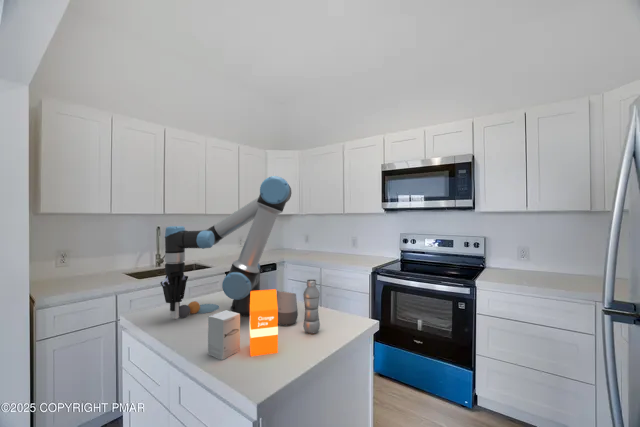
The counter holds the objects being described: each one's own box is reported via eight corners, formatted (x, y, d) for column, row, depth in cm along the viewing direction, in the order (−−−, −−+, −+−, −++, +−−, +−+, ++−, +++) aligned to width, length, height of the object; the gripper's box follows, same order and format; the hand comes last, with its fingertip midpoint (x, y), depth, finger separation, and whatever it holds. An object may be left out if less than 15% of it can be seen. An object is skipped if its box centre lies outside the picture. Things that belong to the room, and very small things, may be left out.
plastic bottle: (322, 329, 111) (322, 279, 111) (316, 336, 104) (316, 282, 105) (307, 327, 113) (307, 278, 113) (300, 334, 106) (300, 281, 107)
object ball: (202, 311, 132) (202, 300, 132) (195, 315, 126) (195, 303, 127) (191, 311, 133) (191, 299, 133) (184, 315, 127) (184, 303, 127)
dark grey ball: (181, 313, 120) (187, 321, 123) (189, 302, 124) (194, 310, 127) (171, 312, 122) (177, 319, 125) (179, 301, 126) (185, 309, 129)
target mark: (224, 304, 142) (224, 304, 142) (210, 314, 128) (210, 313, 128) (198, 303, 144) (198, 303, 144) (181, 313, 130) (181, 312, 130)
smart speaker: (301, 321, 120) (301, 288, 120) (289, 328, 112) (289, 293, 112) (284, 317, 124) (284, 285, 125) (270, 324, 116) (270, 290, 116)
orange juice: (278, 352, 92) (278, 292, 92) (250, 356, 89) (250, 294, 90) (274, 342, 99) (274, 286, 100) (249, 345, 97) (249, 288, 97)
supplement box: (222, 360, 87) (222, 320, 87) (207, 354, 91) (207, 315, 91) (240, 351, 93) (240, 313, 93) (225, 345, 97) (225, 309, 97)
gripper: (179, 259, 127) (179, 311, 126) (155, 264, 114) (154, 322, 114) (193, 260, 124) (193, 313, 124) (169, 265, 112) (169, 324, 112)
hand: (174, 317), depth 119 cm, fingers closed
